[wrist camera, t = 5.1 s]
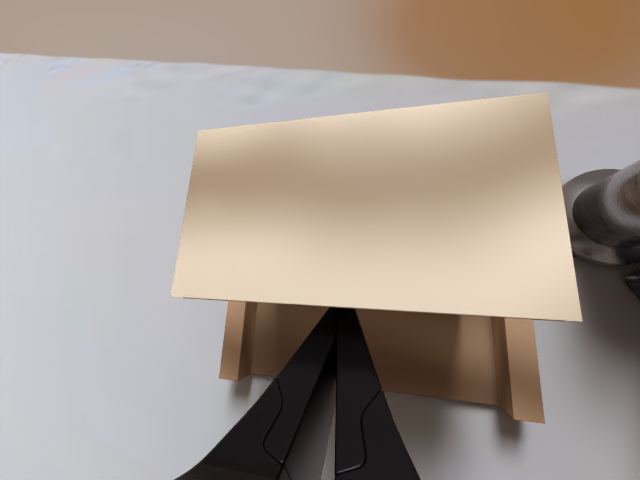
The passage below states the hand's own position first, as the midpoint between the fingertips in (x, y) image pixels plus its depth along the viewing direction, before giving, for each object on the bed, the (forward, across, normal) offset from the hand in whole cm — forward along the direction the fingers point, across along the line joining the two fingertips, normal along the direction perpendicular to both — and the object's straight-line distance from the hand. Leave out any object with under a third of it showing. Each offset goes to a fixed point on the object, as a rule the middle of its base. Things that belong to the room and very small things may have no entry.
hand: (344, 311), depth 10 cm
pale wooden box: (+7, 0, +3) cm, 8 cm away
